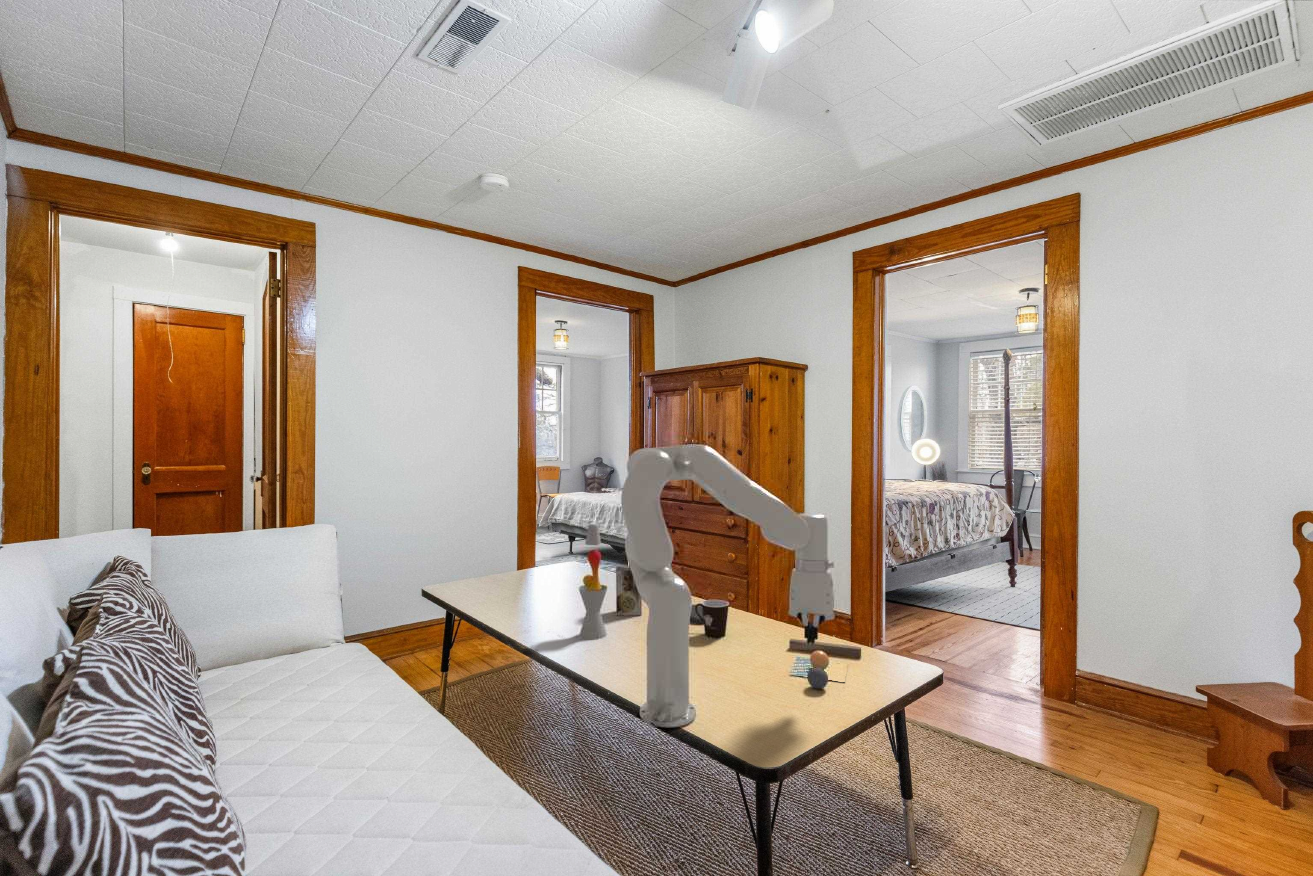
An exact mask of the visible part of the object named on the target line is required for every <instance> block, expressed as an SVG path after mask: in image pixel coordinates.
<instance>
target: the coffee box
mask: <svg viewBox="0 0 1313 876" xmlns="http://www.w3.org/2000/svg"><path fill="white" fill-rule="evenodd" d="M642 601H643V599H642V598H641V596H640V594H639V592H638V589H637V587H636V584H635V581H634V577H633V574H632V571H631V568H630V565H629V566H627V565H626V566H623V565H622V566H616V568H615V602H616V603H615V608H616V611H615V612H616V613H615V615H624V616H642V614H643V613H642V611H643V609H642V608H643V607H642V606H643V605H642V604H643V602H642Z"/></svg>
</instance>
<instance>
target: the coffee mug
mask: <svg viewBox="0 0 1313 876" xmlns="http://www.w3.org/2000/svg"><path fill="white" fill-rule="evenodd" d="M695 605H696V606H695V611H696V613H697V615H698V616H699V618H700V619H701V620H702V621H703V622H704V624H703V627H704V636H705V635H706V636H705V637H707V636H708V637H707V638H710V637H712V638H711V639H721V638H720V637H722V638H724V637H726V634H727V633H726V631H727V622H728V617H729V616H728V613H729V607H730V606H729V605H730V602H728V601H725V600H722V599H721V600H720V599H707V600H703V601H701V603H697V604H695ZM698 605H701V606H702V612H703V618H702V617H701V616H700V615H699V613H698V611H697V606H698Z"/></svg>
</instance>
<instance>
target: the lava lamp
mask: <svg viewBox="0 0 1313 876" xmlns="http://www.w3.org/2000/svg"><path fill="white" fill-rule="evenodd" d="M601 544H602V542H601V534H600V529H599V524H597V523H589V524H588V526H587V531H586V539H585V545H587V546H600V545H601ZM586 559H587V561H588V563H589V565H590V568H591V573H592V574H586V575H585V576H584V577H582V582H583V585H581V586H579V587H578V591H579V594H580V596H581V600H582V603H583V606H584V609H585V611H586V612H585V615H584V619H583V622H582V626H581V629H580V632H579V637H580V638H581V639H584V638H586V639H585V640H600V639H603V637H604V638H605V637H606V635H608V633H607V630H606V626H605V623H604V620H603V617H602V614H601V609H602V606H603V604H604V603H603V602H604V600H605V596H606V594H607V590H608V586H607V585H605V584H601V582H600V577H599V567H600V563H601V560H602V554H601V552H600V551H599V550H595V549H593V550H590V551H589V552H588V554H587V557H586ZM599 638H600V639H599Z"/></svg>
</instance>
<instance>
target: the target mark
mask: <svg viewBox="0 0 1313 876" xmlns="http://www.w3.org/2000/svg"><path fill="white" fill-rule="evenodd" d="M800 658H801V659H800ZM802 658H803V659H802ZM805 658H806V659H805ZM808 658H809V659H808ZM795 661H797V663H796V662H795ZM795 661H794V662H793V665H794V664H803V666H802V665H801V666H799V665H798V666H797V665H796V666H793V665H792V667H803V669H802V668H801V669H800V668H799V669H798V668H794V669H792V668H791V670H795V671H796V670H797V672H794V671H793V672H792V671H791V670H790V672H789V674H790V673H797V674H794V676H793V677H797V676H803V677H802V678H804V676H808V673H809V671H810V670H811V669H813V668H812V665H805V666H804V664H811V663H810V662H809V661H810V657H801V656H796V658H795ZM798 661H800V662H798ZM801 661H804V662H802V663H801ZM838 664H839V663H838ZM804 667H806V668H804ZM807 667H808V668H807ZM810 667H811V668H810ZM798 670H804V671H798ZM805 670H809V671H805ZM799 673H800V674H799ZM801 673H802V674H801ZM803 673H804V674H803ZM805 673H807V674H805ZM792 675H793V674H792Z"/></svg>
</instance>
